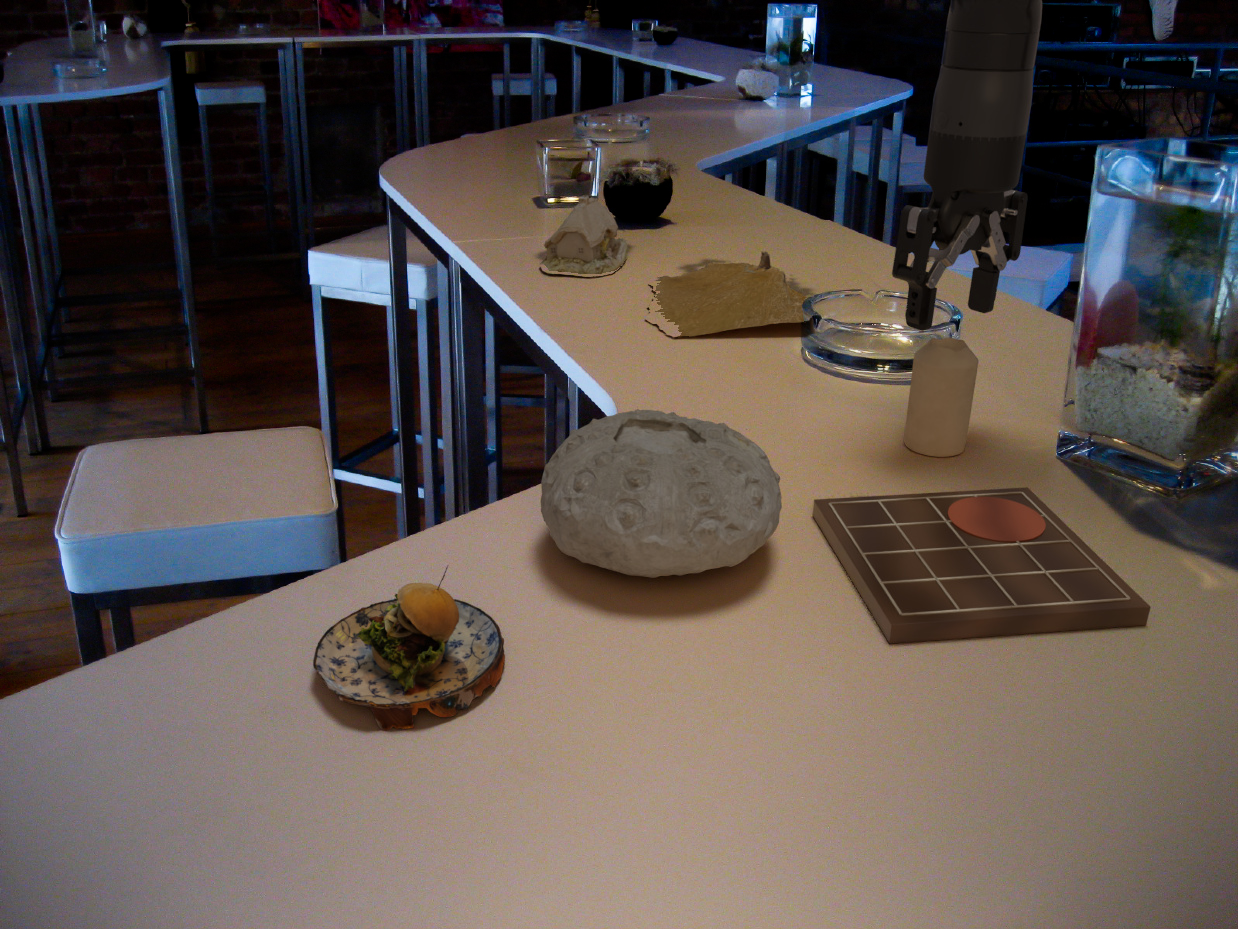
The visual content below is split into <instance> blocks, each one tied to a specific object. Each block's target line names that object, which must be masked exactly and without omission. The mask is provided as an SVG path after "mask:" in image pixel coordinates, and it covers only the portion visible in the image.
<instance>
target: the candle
mask: <svg viewBox="0 0 1238 929" xmlns="http://www.w3.org/2000/svg"><path fill="white" fill-rule="evenodd" d="M912 361H913V363H912V368H911V369H912V371H911V376H910V385H909V393H908V400H907V401H908V402H907V409H906V419H905V427H904V435H903V442H904V445H905V446H906V447H907V448H908V449H909V450H911V451H912V452H915V453H917V454H921V455H923V456H928V457H929V456H930V457H936V458H937V457H939V458H947V457H954V456H957V455H960V454H962V453H963V452H964V451H965V448H966V446H967V440H968V434H969V428H970V421H971V414H972V408H973V402H974V401H973V400H974V396H975V395H974V394H975V387H976V381H977V374H978V368H979V358H978V357H977V355H976V354H975V353H974V352H973V351H972V349H971V348H970V347H969V345H968V344H967V343H966V342H965V341H964V340H963V339H958V338H953V337H945V338H942V339H939V338H937V337H932V338H930V340H928V342H926V343H925V344H924V345H923V346H921V347H920V348H919V349H918V350H916V351H915V352H914V354H913V360H912Z"/></svg>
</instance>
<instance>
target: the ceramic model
mask: <svg viewBox="0 0 1238 929" xmlns="http://www.w3.org/2000/svg"><path fill="white" fill-rule="evenodd" d="M618 230H619V226H618V224H617V221H616V219H615V218H614V216H613V215H612V213H611V212H610V211H609V209H608V208H607V207H606V206H605V205H604V204H602V203H601V202H600V201H599V199H598V198H597V197H589V195H586V194H582V195H580V196H579V197H578V204H576V205H574V206H573V209H572V211H571V212H570V213H569V214H568V216H566V218H564V220H563V222H562V223H561V224H560V226H559V227H558V229H557V230H556V231H555V232H554V233H553V234H552V235H551V236H550V237H549V238H548V239H547V240H545V241H544V244H543V246H544V249H546V255H545V259H543V260H542V261H541V263H540V264H544V265H545V266H546V267H547V268H548V270H549V271H558V272H571V273H578V274H602V273H606V272H611V271H615V270H617V269H618V268H619V267H620V266H621V265H622V264H623V263H624V264H625V262H626V259H627V254H628V249H629V247H628V243H627V241H626V239H625V238H617V237H618ZM624 261H625V262H624ZM624 264H623V265H624Z"/></svg>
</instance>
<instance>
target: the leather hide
mask: <svg viewBox="0 0 1238 929" xmlns="http://www.w3.org/2000/svg"><path fill="white" fill-rule="evenodd" d="M760 252H761V256H760V260H759V264H757V265H756V264H751V263H749V262H738V263H737V262H729V263H718V262H712V261H711V262H709V263H706V264H705V266H704V267H701V268H700V269H698V270H692V271H690V272H684V273H682V274H681V275H677V276H669V275H663V276H660V277H657V279H656V280H655V281H661V282H660V283H657V284H659V285H657V286H656V290H655V291H660V293H658V294H655V293H654V295H657V296H656V297H655V298H657V299H658V300H656V301H660V302H657V304H658V305H661V308H663V309H660V310H658V311H655V312H664V313H661V315H665V316H663V317H665V319H670V320H668V321H667V322H675V324H674V325H679V327H678V329H679V330H678V331H679V332H682V333H681V335H680V336H689V337H697V336H703V335H709V334H715V333H721V332H724V331H731V330H737V329H738V330H739V329H745V328H754V327H761V326H762V327H763V326H767V325H775V324H776V325H777V324H787V323H792V324H793V323H798V324H799V323H805V322H804V318H803V311H802V304H803V302H804V299H805V298H808V297H807V296H805V295H803V293H802V292H800V291H796V290H795V289H793V288H792V287H791V286H790V285H789V283H788V282H787V279H786V273H785V272H784V271H783V270H780V268H779V267H775V266H772V264H771V258H770V254H769V252H768V251H760ZM802 295H803V296H802Z"/></svg>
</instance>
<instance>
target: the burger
mask: <svg viewBox="0 0 1238 929" xmlns="http://www.w3.org/2000/svg"><path fill="white" fill-rule="evenodd" d="M448 568H449V565H447V566H446V568H445V571H444V572H443V575H442V578H441V580H440V582H439V583H438V585H436V584H433V583H428V582H410V583H406V584H405V585H403V586H402V587H401V588H399V589H398V590H397V593H395V594H394V597H395V598H391V599H389V600H382V601H379V602H374V603H371V604H370V605H369V606H366V607H365V606H364V607H361V608H359V609H358V610H355V611H354V612H352V613H350V614H349V615H347V616H345V617H343V618H340V620H338V621H337V622H336V623H334V624H333V625H332V626H330V627H329V628H328V629H327V630H326V631H325V632H324V634H323V635H322V636H321V638H320V639H319V641H318V642H317V646H316V647H315V650H314V654H313V655H314V656H313V661H312V665H313V668H314V670H315V671H316V672H317V674H318V675H319V676H320V678H321V679H322V681H323V683H324V684H325V686H326V688H327V689H328V690H329V691H331V692H333V693H334V694H335V695H336V696H338V697H339V701H342V702H345V703H348V704H349V705H357V706H358V705H359V706H362V707H368V708H369V709H370V710H371V712H372V714H373V718H374V720H375V722H376V723H377V725H378V727H379V729H380V730H382V731H389V730H391V729H392V728H395V729H396V730H399V729H402V730H404V729H407V730H408V729H413V728H414V716H416V715H417V714H418V712H419V709H427V710H428V711H429V712H430V713H431V714H433V715H435V716H437V717H441V718H447V717H449V718H450V717H453V716H456V715H457V714H458V711H459V710H468V708H469V707H470V705H471V703H472V701H473V700H475V699H476V698H477V697H482V695H483V692H484V690H485V689H488V688H489V687H492V688H495V687H496V686H497V683H498V681H499V680H500V679H501V678H502V674H503V669H504V666H505V665H506V654H505V649H504V645H505V639H504V638H505V637H503V636H502V631H501V627H500V626H499V625H498V623H497V622H496V621H495V619H493V617H492V616H490V615H489V614H488V613H486V611H484V610H483V609H481V608H480V607H477V606H475V605H473V604H471V603H469V602H466V601H463V600H460V599H456V598H453V596H452V595H451V594H450V593H449V592H448V591H446V590H445V589H443V588H442V587H441V585H442V584H441V583H442V582H443V580H444V579H445V577H446V573H447V569H448Z"/></svg>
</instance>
